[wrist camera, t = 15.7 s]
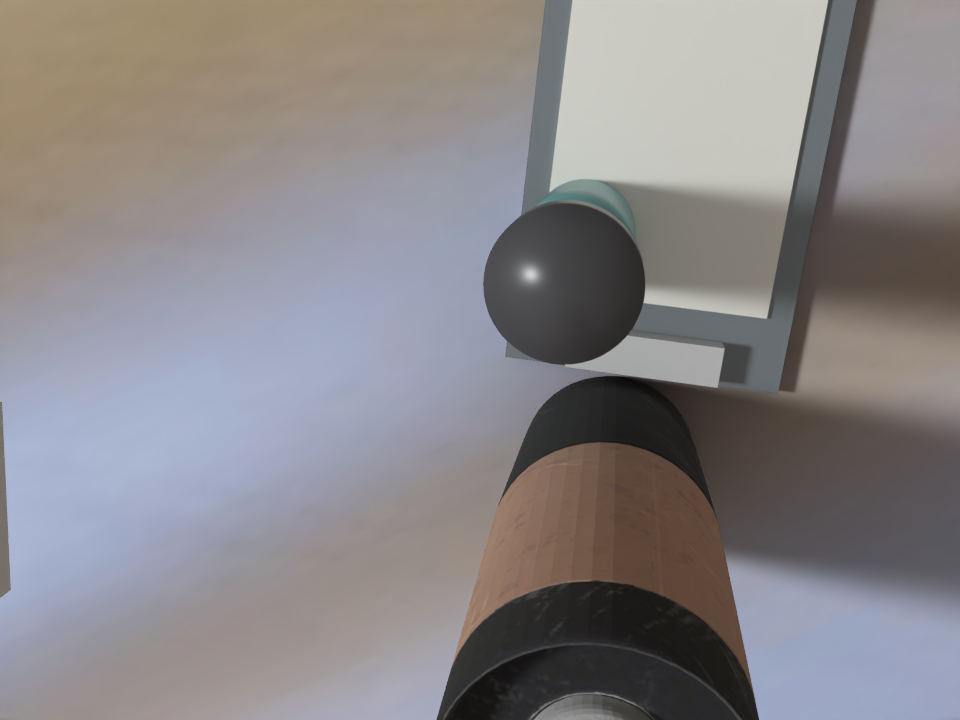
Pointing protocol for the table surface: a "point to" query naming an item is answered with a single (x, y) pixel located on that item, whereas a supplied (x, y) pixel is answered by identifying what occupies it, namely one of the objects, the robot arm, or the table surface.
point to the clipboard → (696, 164)
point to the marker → (567, 275)
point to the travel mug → (603, 575)
